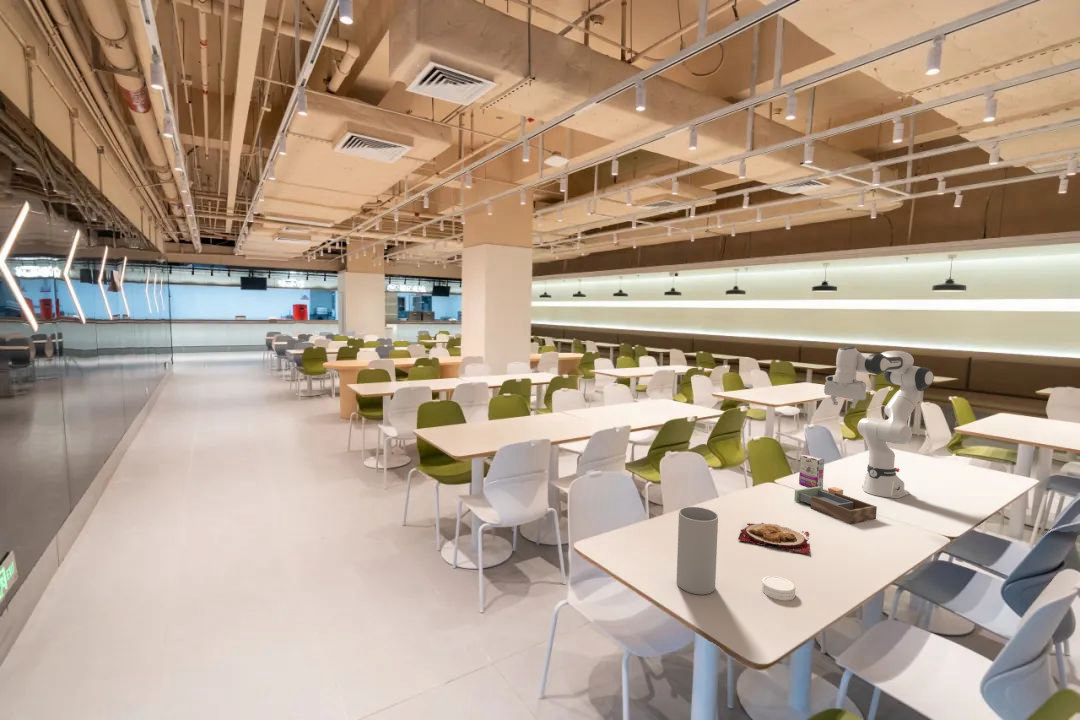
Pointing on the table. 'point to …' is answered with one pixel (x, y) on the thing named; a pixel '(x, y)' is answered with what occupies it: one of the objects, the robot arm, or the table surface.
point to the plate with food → (775, 537)
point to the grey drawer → (821, 497)
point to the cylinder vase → (697, 550)
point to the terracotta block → (835, 490)
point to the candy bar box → (811, 471)
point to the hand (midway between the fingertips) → (843, 406)
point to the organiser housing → (845, 510)
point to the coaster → (778, 588)
